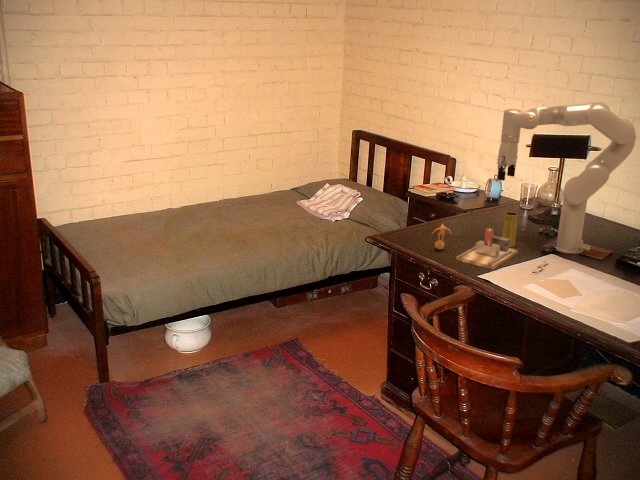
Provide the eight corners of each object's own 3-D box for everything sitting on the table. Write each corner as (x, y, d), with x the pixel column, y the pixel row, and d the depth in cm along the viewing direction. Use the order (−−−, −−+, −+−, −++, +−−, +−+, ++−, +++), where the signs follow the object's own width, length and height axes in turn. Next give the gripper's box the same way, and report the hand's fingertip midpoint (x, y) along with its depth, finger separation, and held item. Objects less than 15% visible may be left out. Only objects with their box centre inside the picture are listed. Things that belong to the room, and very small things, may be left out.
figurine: (447, 247, 283) (450, 221, 279) (451, 252, 277) (453, 225, 273) (428, 247, 283) (430, 221, 279) (431, 252, 277) (433, 225, 273)
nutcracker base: (517, 253, 277) (519, 239, 275) (492, 269, 259) (494, 254, 257) (482, 245, 287) (484, 231, 284) (456, 260, 269) (457, 245, 267)
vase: (515, 247, 284) (519, 216, 279) (501, 246, 285) (504, 215, 281) (514, 243, 290) (518, 212, 285) (500, 241, 291) (503, 211, 286)
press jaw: (499, 254, 271) (502, 230, 267) (495, 256, 268) (497, 232, 264) (479, 249, 276) (481, 225, 273) (475, 251, 273) (477, 227, 270)
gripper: (510, 135, 288) (506, 173, 293) (493, 140, 275) (488, 180, 281) (526, 137, 283) (522, 175, 289) (509, 142, 271) (505, 183, 276)
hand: (505, 177), depth 285 cm, fingers open, 9 cm apart
